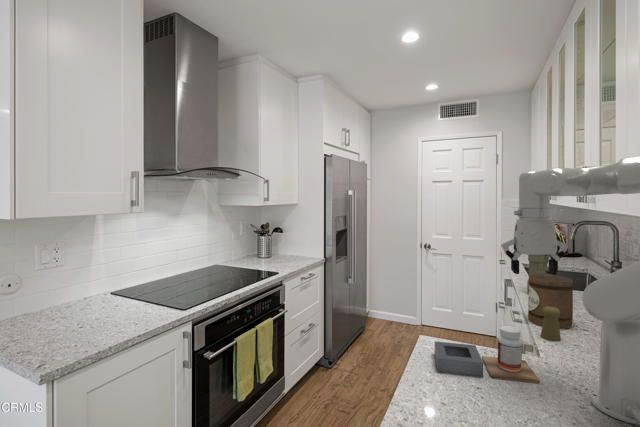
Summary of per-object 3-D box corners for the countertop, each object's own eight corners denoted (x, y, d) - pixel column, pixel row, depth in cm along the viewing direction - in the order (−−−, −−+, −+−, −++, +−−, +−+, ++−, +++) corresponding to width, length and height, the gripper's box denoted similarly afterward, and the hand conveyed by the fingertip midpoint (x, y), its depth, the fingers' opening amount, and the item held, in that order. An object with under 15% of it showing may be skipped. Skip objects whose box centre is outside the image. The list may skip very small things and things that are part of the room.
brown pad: (539, 383, 92) (539, 380, 92) (491, 378, 95) (491, 375, 95) (524, 362, 104) (525, 360, 104) (481, 358, 107) (481, 356, 107)
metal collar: (483, 377, 96) (483, 363, 96) (437, 371, 99) (437, 358, 99) (474, 357, 107) (475, 345, 107) (434, 353, 110) (434, 341, 110)
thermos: (545, 299, 170) (547, 228, 168) (520, 293, 180) (522, 226, 178) (554, 296, 174) (556, 227, 173) (530, 291, 184) (532, 225, 183)
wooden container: (529, 313, 148) (530, 263, 147) (571, 320, 140) (573, 266, 139) (526, 324, 136) (528, 269, 135) (573, 332, 128) (575, 273, 127)
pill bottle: (500, 360, 104) (501, 323, 103) (524, 367, 100) (524, 328, 99) (494, 367, 99) (495, 329, 99) (518, 375, 95) (519, 334, 95)
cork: (564, 342, 119) (565, 310, 119) (544, 340, 120) (545, 309, 120) (556, 335, 125) (556, 305, 124) (537, 334, 126) (538, 304, 126)
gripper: (506, 215, 97) (506, 275, 98) (574, 214, 94) (574, 277, 94) (497, 214, 105) (497, 270, 105) (560, 213, 101) (560, 271, 102)
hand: (534, 273), depth 100 cm, fingers open, 9 cm apart
